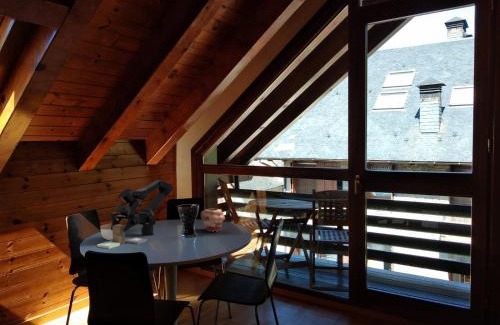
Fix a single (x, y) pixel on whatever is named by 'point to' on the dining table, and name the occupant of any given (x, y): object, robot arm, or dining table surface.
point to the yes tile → (108, 245)
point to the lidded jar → (107, 231)
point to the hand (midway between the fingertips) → (117, 230)
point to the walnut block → (118, 234)
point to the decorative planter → (212, 219)
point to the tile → (136, 240)
